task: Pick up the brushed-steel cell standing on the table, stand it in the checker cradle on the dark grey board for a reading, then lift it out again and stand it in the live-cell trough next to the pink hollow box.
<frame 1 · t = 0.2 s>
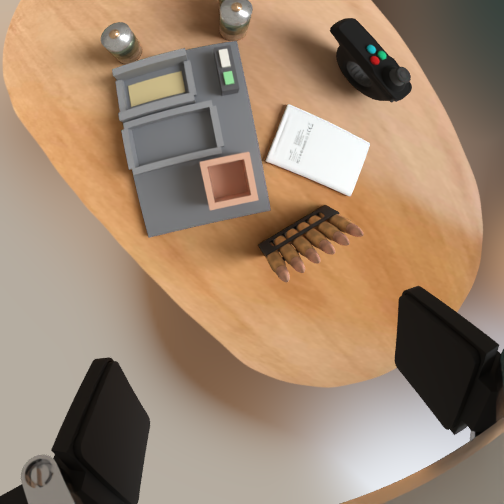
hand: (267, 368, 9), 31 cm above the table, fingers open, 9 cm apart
cell a: (129, 52, 30), on the table
pink hollow box: (227, 178, 36), resting on board
controller: (349, 71, 34), on the table
ammunition clip: (295, 229, 40), on the table
external hard drive: (317, 150, 38), on the table
board: (190, 134, 35), on the table
cell b: (233, 30, 31), on the table
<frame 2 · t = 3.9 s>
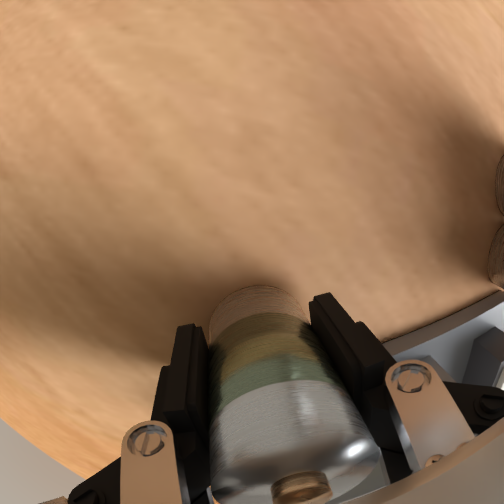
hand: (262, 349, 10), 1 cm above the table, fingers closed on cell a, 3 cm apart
cell a: (257, 329, 11), on the table, touching gripper
board: (376, 460, 15), on the table
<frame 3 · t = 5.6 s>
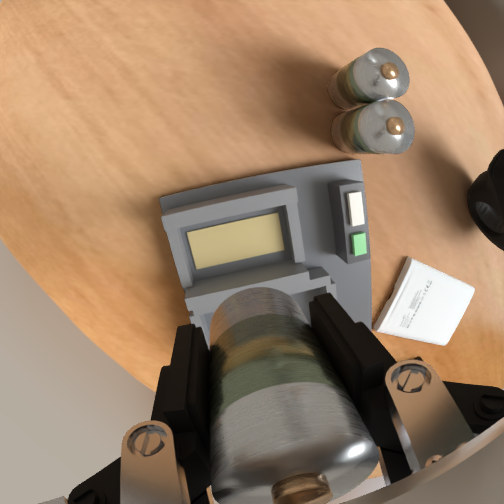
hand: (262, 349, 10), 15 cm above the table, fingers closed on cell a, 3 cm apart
cell a: (258, 330, 11), point 14 cm above the table, touching gripper
controller: (471, 198, 26), on the table
cell c: (347, 90, 21), on the table
external hard drive: (424, 302, 29), on the table
board: (285, 305, 26), on the table
cell b: (350, 132, 22), on the table
when the fingers open (4 cm above the table, at t = 7.8 s): cell a drops 1 cm, resting on board.
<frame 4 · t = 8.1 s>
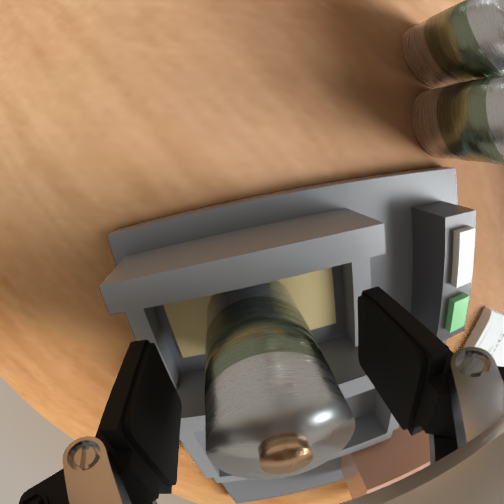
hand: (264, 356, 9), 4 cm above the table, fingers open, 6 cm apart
cell a: (251, 314, 12), point 1 cm above the table, touching board
pink hollow box: (375, 441, 17), resting on board
cell c: (428, 57, 11), on the table
external hard drive: (486, 354, 19), on the table
board: (324, 391, 16), on the table
cell b: (437, 123, 12), on the table
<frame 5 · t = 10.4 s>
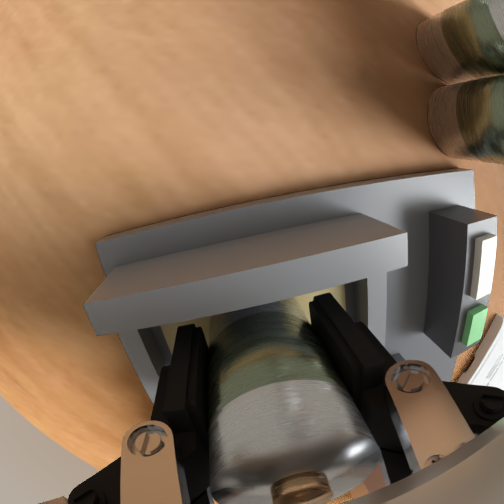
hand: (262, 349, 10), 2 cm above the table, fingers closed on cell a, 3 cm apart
cell a: (257, 329, 11), point 1 cm above the table, touching board, gripper
pink hollow box: (382, 452, 16), resting on board
cell c: (443, 51, 9), on the table
external hard drive: (495, 361, 17), on the table
board: (331, 405, 14), on the table
cell b: (453, 122, 11), on the table
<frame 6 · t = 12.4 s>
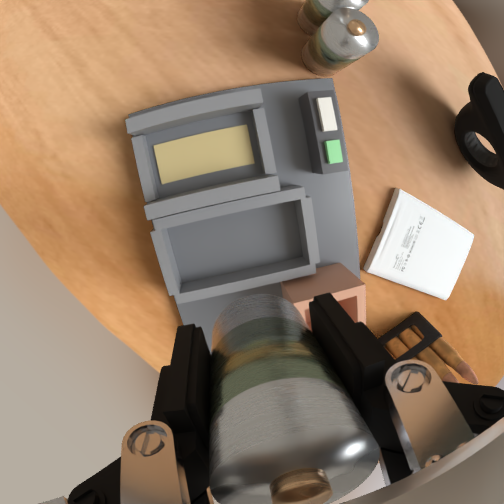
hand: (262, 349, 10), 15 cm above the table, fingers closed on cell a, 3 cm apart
cell a: (259, 337, 11), point 14 cm above the table, touching gripper
pink hollow box: (314, 298, 25), resting on board
controller: (459, 135, 24), on the table
cell c: (317, 21, 19), on the table
ammunition clip: (380, 342, 30), on the table
external hard drive: (419, 246, 27), on the table
board: (259, 232, 24), on the table
cell b: (321, 57, 20), on the table
when the fingers open (4 cm above the table, at t = 14.7 s): cell a drops 1 cm, resting on board.
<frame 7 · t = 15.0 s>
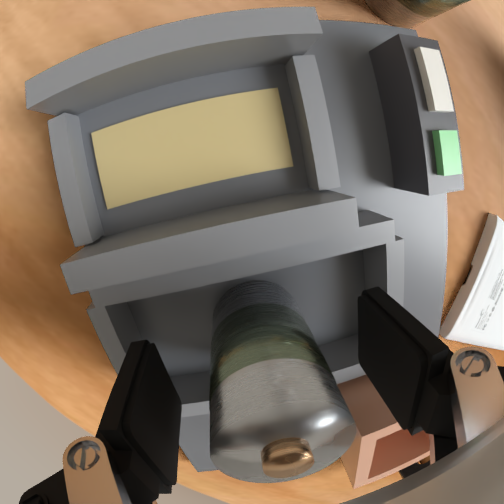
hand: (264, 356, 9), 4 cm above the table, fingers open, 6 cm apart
cell a: (255, 320, 12), point 1 cm above the table, touching board
pink hollow box: (371, 385, 14), resting on board
external hard drive: (498, 290, 16), on the table
board: (294, 292, 13), on the table
cell b: (391, 0, 9), on the table
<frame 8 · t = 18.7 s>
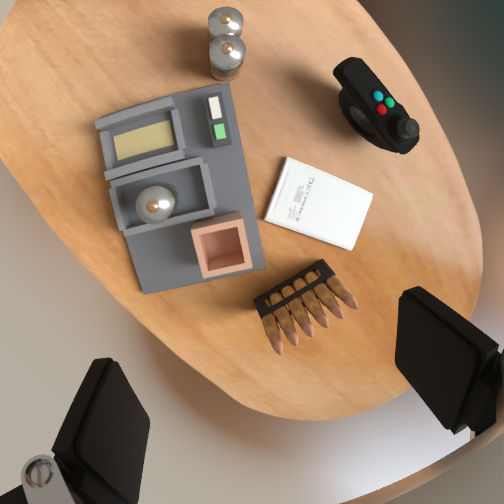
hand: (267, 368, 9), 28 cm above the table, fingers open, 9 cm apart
cell a: (164, 197, 33), point 1 cm above the table, touching board
pink hollow box: (221, 238, 35), resting on board
controller: (352, 113, 34), on the table
cell c: (223, 42, 29), on the table
ammunition clip: (290, 284, 40), on the table
external hard drive: (318, 204, 37), on the table
board: (181, 190, 34), on the table
cell b: (225, 68, 30), on the table
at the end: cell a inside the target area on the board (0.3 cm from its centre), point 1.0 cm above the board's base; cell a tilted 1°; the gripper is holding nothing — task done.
